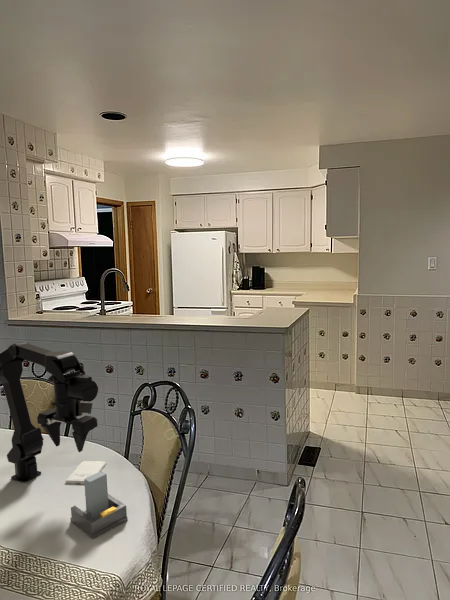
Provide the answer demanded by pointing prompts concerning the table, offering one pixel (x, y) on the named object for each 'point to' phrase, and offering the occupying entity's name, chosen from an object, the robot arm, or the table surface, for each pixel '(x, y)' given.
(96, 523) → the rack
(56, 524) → the table surface
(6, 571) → the table surface
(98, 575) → the table surface
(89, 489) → the block
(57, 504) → the table surface
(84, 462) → the external hard drive
